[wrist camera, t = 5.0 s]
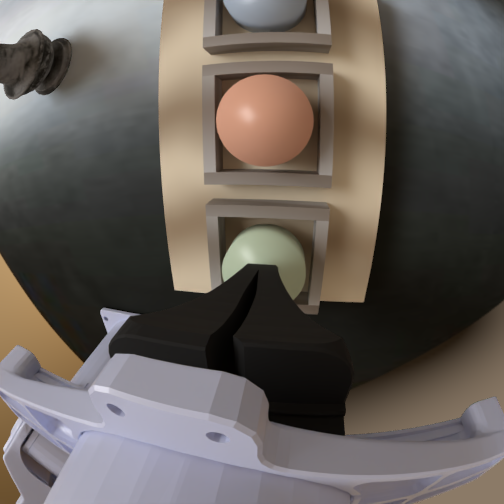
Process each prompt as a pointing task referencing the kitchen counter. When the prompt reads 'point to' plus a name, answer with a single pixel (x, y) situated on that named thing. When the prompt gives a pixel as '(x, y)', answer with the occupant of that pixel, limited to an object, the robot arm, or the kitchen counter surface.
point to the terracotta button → (264, 120)
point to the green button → (268, 254)
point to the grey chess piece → (33, 64)
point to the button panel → (283, 175)
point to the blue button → (266, 14)
